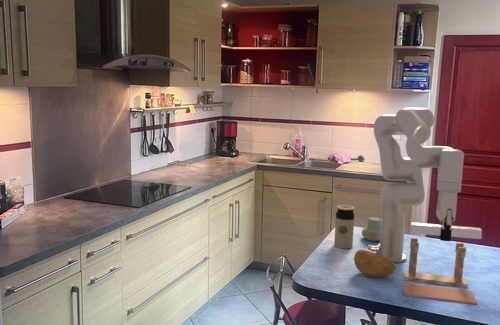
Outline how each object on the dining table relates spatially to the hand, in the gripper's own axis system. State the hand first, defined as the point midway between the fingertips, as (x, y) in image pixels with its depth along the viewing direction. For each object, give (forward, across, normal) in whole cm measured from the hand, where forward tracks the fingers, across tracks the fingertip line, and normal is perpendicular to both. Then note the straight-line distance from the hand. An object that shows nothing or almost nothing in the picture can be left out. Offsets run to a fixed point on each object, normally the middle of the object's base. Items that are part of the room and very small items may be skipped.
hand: (444, 238), depth 163 cm
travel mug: (+19, -41, -35) cm, 57 cm away
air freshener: (+19, -55, -22) cm, 62 cm away
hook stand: (+20, -13, 0) cm, 24 cm away
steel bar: (-1, 0, 0) cm, 1 cm away
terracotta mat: (+20, -1, 0) cm, 20 cm away
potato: (+20, -10, -22) cm, 32 cm away
